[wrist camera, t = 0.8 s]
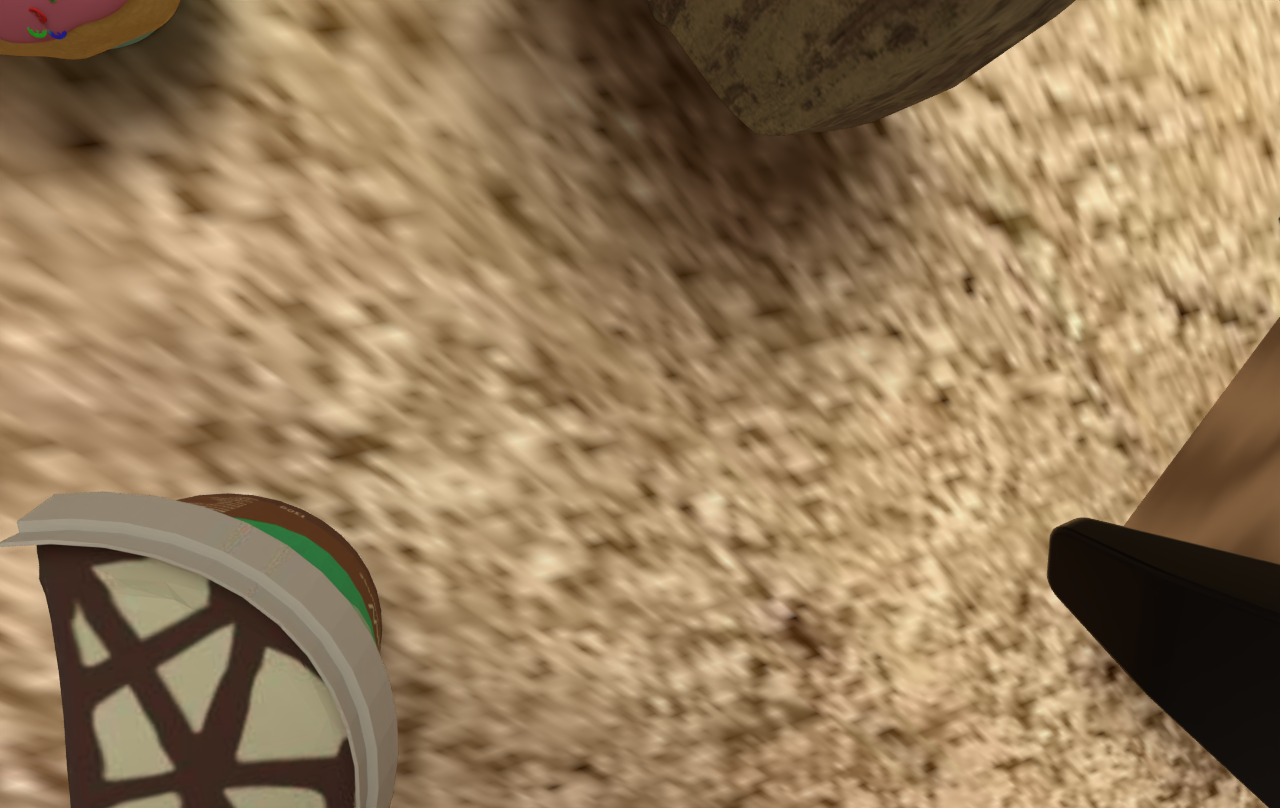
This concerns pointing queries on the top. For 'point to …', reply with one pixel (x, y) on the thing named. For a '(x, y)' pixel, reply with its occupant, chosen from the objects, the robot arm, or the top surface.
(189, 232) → the top surface
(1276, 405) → the walnut block
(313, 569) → the food container
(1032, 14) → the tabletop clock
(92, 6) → the cupcake
